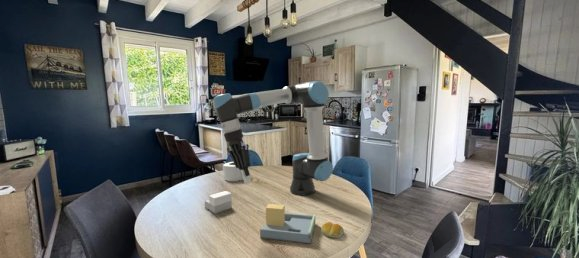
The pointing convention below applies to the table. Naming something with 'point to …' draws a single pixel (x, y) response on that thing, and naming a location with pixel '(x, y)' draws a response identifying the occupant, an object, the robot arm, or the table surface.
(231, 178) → the roll of tape
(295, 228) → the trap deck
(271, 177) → the table surface
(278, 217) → the ochre block
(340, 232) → the bread roll
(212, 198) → the foam block
